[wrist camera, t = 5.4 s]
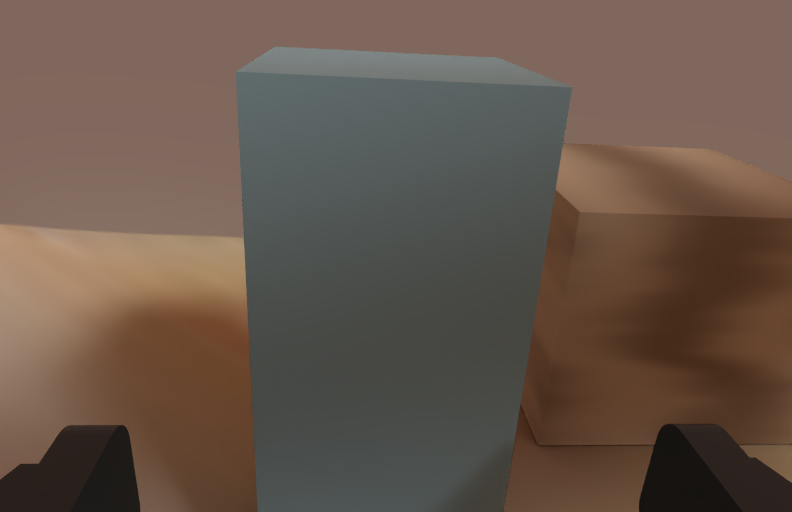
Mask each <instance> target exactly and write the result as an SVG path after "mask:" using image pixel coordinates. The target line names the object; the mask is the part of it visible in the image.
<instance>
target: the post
mask: <svg viewBox="0 0 792 512" xmlns="http://www.w3.org/2000/svg"><path fill="white" fill-rule="evenodd" d="M236 85H237V104H238V125H239V146H240V165H241V186H242V203H243V204H242V206H243V225H244V226H243V227H244V247H245V267H246V287H247V307H248V328H249V348H250V368H251V388H252V409H253V429H254V449H255V469H256V490H257V510H258V512H503V510H504V503H505V497H506V491H507V485H508V479H509V473H510V467H511V460H512V454H513V448H514V442H515V436H516V430H517V424H518V417H519V411H520V405H521V399H522V393H523V387H524V381H525V374H526V368H527V362H528V356H529V350H530V344H531V338H532V331H533V325H534V319H535V313H536V307H537V301H538V295H539V289H540V282H541V276H542V270H543V264H544V258H545V252H546V246H547V239H548V233H549V227H550V221H551V215H552V209H553V203H554V196H555V190H556V184H557V178H558V172H559V166H560V160H561V153H562V147H563V141H564V135H565V129H566V122H567V117H568V110H569V104H570V98H571V92H572V87H570V86H567V85H565V84H563V83H560V82H557V81H555V80H552V79H550V78H547V77H545V76H542V75H539V74H537V73H535V72H532V71H530V70H527V69H525V68H522V67H520V66H517V65H514V64H512V63H510V62H507V61H504V60H502V59H499V58H489V57H468V56H449V55H429V54H409V53H390V52H370V51H350V50H349V51H348V50H329V49H328V50H327V49H310V48H290V47H275V48H273V49H272V50H270V51H268V52H267V53H265V54H264V55H262V56H260V57H259V58H257V59H256V60H254V61H253V62H251V63H249V64H247V65H246V66H244V67H242V68H241V69H240V70H238V71H236Z"/></svg>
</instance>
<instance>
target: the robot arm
mask: <svg viewBox="0 0 792 512" xmlns="http://www.w3.org/2000/svg"><path fill="white" fill-rule="evenodd" d="M0 512H140V502H139V495H138V489H137V482H136V476H135V469H134V463H133V456H132V450H131V443H130V437H129V433H128V430H127V428H126V427H125V426H123V425H70V426H67V427H65V428H64V429H63V430H62V431H61V432H60V433H59V434H58V436H57V437H56V439H55V440H54V442H53V443H52V445H51V446H50V448H49V449H48V451H47V452H46V454H45V455H44V457H43V458H42V460H41V461H40V463H39V464H20V465H19V466H17V467H16V468H15V469H14V470H12V471H11V472H10V473H8V474H7V475H6V476H5V477H3V478H2V479H1V480H0ZM639 512H792V483H791V482H790V481H788V480H787V479H785V478H784V477H782V476H781V475H779V474H778V473H777V472H775V471H774V470H772V469H771V468H769V467H768V466H767V465H765V464H764V463H762V462H761V461H759V460H758V459H757V458H749V457H748V456H747V454H746V453H745V452H744V451H743V450H742V449H741V448H740V446H739V445H738V444H737V443H736V442H735V441H734V440H733V438H732V437H731V436H730V435H729V434H728V433H727V431H726V430H724V429H723V428H722V427H721V426H719V425H717V424H712V423H709V424H665V425H664V426H662V427H661V429H660V430H659V432H658V435H657V438H656V442H655V445H654V449H653V453H652V456H651V460H650V464H649V467H648V471H647V474H646V478H645V482H644V485H643V489H642V492H641V496H640V502H639Z"/></svg>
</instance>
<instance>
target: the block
mask: <svg viewBox="0 0 792 512" xmlns="http://www.w3.org/2000/svg"><path fill="white" fill-rule="evenodd" d="M521 406H522V409H523V411H524V414H525V416H526V418H527V421H528V423H529V425H530V428H531V430H532V433H533V435H534V437H535V440H536V442H537V445H655V442H656V438H657V435H658V432H659V430H660V429H661V427H662V426H664V425H665V424H709V423H712V424H717V425H719V426H721V427H722V428H723V429H724V430H726V431H727V433H728V434H729V435H730V436H731V437H732V438H733V440H734V441H735V442H736V443H737V444H792V182H790V181H788V180H785V179H783V178H780V177H778V176H775V175H773V174H771V173H768V172H766V171H764V170H761V169H759V168H756V167H754V166H751V165H749V164H747V163H744V162H742V161H739V160H737V159H735V158H732V157H730V156H727V155H725V154H722V153H720V152H717V151H715V150H713V149H695V148H670V147H643V146H641V147H640V146H615V145H592V144H566V143H563V147H562V153H561V160H560V166H559V172H558V178H557V184H556V190H555V196H554V203H553V209H552V215H551V221H550V227H549V233H548V239H547V246H546V252H545V258H544V264H543V270H542V276H541V282H540V289H539V295H538V301H537V307H536V313H535V319H534V325H533V331H532V338H531V344H530V350H529V356H528V362H527V368H526V374H525V381H524V387H523V393H522V399H521Z"/></svg>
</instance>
